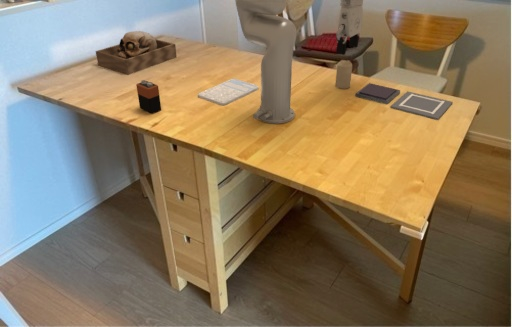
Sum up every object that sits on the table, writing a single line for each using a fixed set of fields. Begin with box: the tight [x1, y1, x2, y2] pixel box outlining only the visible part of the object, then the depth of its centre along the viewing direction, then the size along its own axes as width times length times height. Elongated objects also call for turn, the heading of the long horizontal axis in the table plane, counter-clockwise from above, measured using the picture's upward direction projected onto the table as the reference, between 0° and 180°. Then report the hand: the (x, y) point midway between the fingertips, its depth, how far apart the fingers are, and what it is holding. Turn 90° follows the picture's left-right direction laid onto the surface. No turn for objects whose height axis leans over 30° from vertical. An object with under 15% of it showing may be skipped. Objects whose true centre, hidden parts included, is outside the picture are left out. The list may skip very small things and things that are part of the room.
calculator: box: [197, 78, 260, 107], centre depth 159 cm, size 13×20×2 cm, turn 140°
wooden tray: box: [95, 38, 177, 75], centre depth 189 cm, size 27×20×6 cm
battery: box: [135, 79, 162, 114], centre depth 145 cm, size 4×7×10 cm, turn 48°
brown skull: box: [117, 30, 157, 59], centre depth 188 cm, size 16×18×14 cm
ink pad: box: [354, 82, 401, 105], centre depth 157 cm, size 12×12×2 cm
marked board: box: [389, 91, 453, 121], centre depth 149 cm, size 16×16×1 cm
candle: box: [334, 59, 353, 90], centre depth 162 cm, size 6×6×10 cm
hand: (347, 50), depth 157 cm, fingers open, 9 cm apart
